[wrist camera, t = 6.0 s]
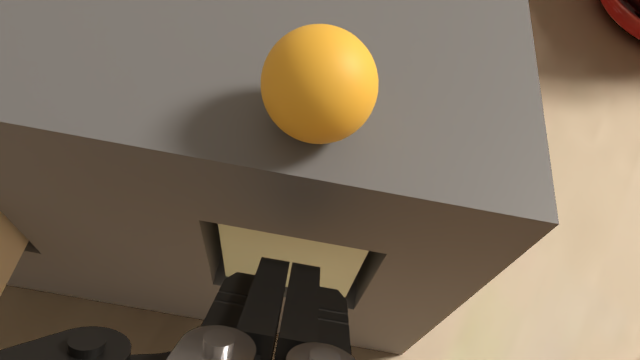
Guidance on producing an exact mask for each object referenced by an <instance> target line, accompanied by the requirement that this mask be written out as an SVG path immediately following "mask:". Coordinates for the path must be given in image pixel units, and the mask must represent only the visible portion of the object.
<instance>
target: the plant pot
mask: <svg viewBox="0 0 640 360" xmlns="http://www.w3.org/2000/svg"><path fill="white" fill-rule="evenodd" d="M601 3H602V4H603V6H604V8H605V9H606V11H607V12H608V14H609V15H610V16H611V17H612V19H613V20H614V21H615V22H616V23H617V24H618V25H619V26H621V27H622V28H623V29H624V30H626V31H627V32H628V33H629V34H631V35H632V36H634V37H635V38H637V39H639V40H640V0H601Z"/></svg>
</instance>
